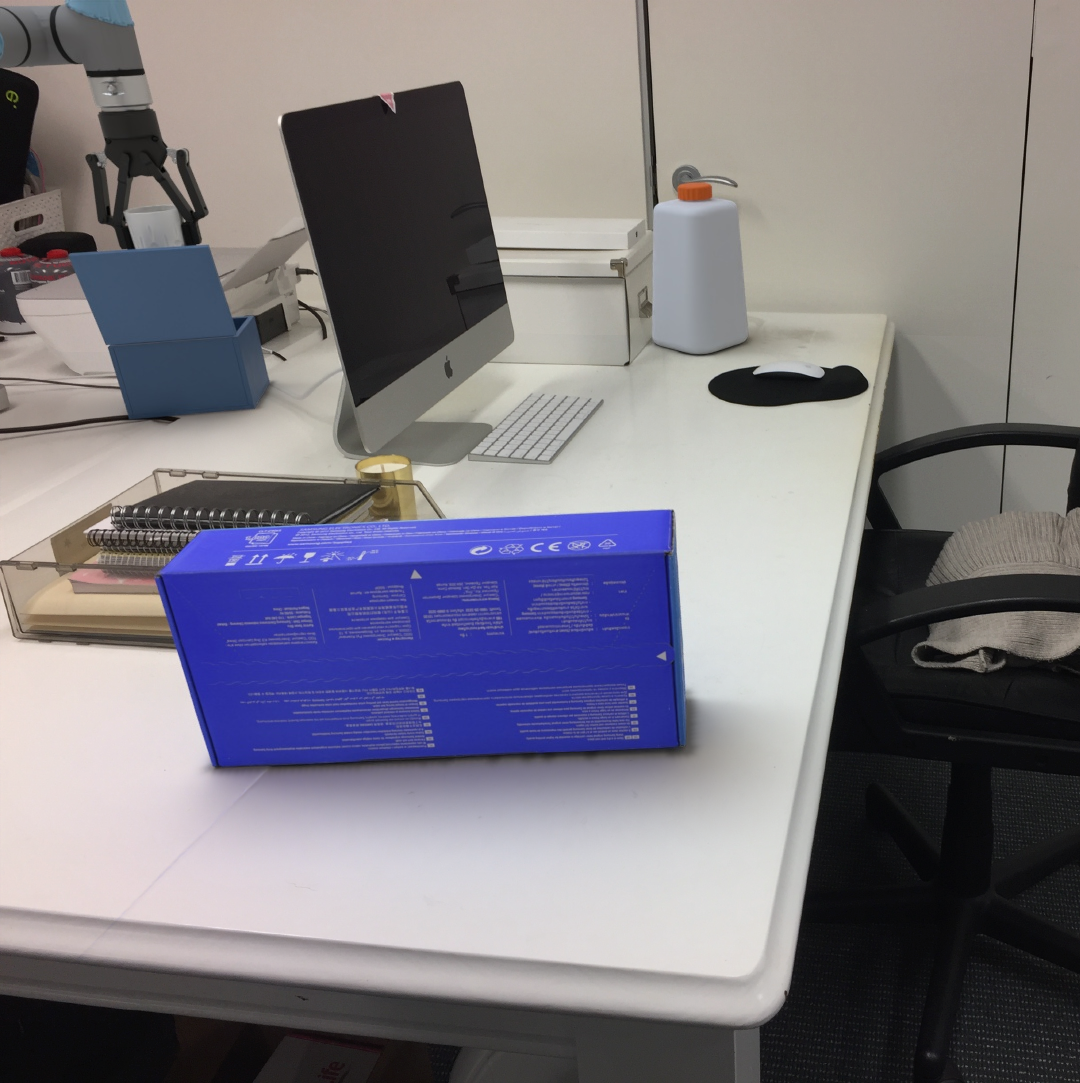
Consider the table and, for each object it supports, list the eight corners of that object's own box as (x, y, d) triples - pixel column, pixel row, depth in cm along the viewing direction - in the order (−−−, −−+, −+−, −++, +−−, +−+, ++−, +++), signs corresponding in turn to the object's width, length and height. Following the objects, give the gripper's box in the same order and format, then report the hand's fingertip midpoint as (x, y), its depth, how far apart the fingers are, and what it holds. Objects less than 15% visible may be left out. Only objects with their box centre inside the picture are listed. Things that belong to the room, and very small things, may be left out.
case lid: (69, 253, 147) (68, 255, 147) (208, 244, 150) (207, 247, 150) (107, 342, 157) (105, 345, 156) (237, 332, 160) (236, 335, 159)
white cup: (198, 277, 159) (181, 210, 154) (141, 283, 156) (122, 215, 151) (197, 268, 165) (180, 203, 161) (142, 274, 162) (124, 207, 158)
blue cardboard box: (687, 694, 92) (677, 506, 84) (686, 753, 85) (675, 553, 77) (249, 710, 92) (196, 522, 84) (210, 771, 84) (147, 572, 76)
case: (153, 393, 174) (133, 324, 169) (270, 383, 177) (254, 315, 172) (129, 420, 162) (107, 347, 157) (254, 409, 165) (237, 336, 160)
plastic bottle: (700, 327, 202) (694, 176, 190) (758, 340, 193) (756, 182, 180) (643, 344, 193) (633, 186, 180) (701, 359, 183) (694, 193, 171)
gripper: (38, 113, 145) (87, 278, 155) (194, 107, 148) (233, 268, 158) (57, 110, 151) (103, 268, 162) (207, 103, 155) (243, 258, 165)
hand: (167, 268), depth 160 cm, fingers closed on white cup, 8 cm apart
